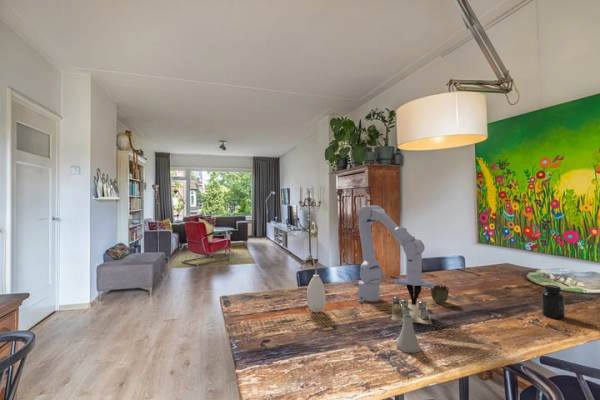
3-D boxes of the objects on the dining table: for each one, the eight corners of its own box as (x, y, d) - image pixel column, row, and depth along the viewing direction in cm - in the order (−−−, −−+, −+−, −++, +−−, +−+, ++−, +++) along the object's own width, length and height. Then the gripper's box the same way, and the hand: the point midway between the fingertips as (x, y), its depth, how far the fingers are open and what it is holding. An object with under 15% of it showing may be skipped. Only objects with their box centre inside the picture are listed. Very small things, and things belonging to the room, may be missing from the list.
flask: (392, 342, 93) (392, 312, 93) (413, 341, 94) (413, 311, 94) (402, 354, 86) (402, 321, 86) (425, 353, 86) (425, 320, 86)
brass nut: (394, 312, 115) (394, 307, 115) (394, 308, 118) (393, 303, 118) (404, 313, 113) (404, 308, 113) (404, 310, 117) (404, 305, 117)
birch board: (391, 322, 108) (391, 319, 108) (391, 305, 126) (391, 302, 126) (432, 327, 103) (432, 324, 103) (426, 308, 122) (426, 305, 122)
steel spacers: (392, 316, 111) (392, 308, 111) (392, 302, 126) (392, 295, 126) (429, 320, 106) (429, 312, 106) (425, 305, 122) (425, 298, 122)
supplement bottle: (559, 314, 115) (559, 284, 115) (568, 320, 109) (568, 289, 109) (538, 312, 117) (538, 283, 118) (546, 318, 111) (546, 287, 111)
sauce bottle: (327, 315, 115) (326, 270, 115) (307, 316, 114) (307, 271, 114) (324, 308, 123) (323, 266, 123) (306, 308, 122) (305, 266, 122)
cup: (451, 308, 121) (451, 290, 121) (432, 307, 123) (432, 289, 123) (445, 302, 129) (445, 284, 129) (428, 301, 130) (428, 284, 130)
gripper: (394, 271, 113) (394, 305, 113) (435, 274, 108) (435, 309, 108) (394, 267, 119) (394, 299, 119) (432, 269, 115) (432, 303, 115)
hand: (413, 304), depth 114 cm, fingers closed
